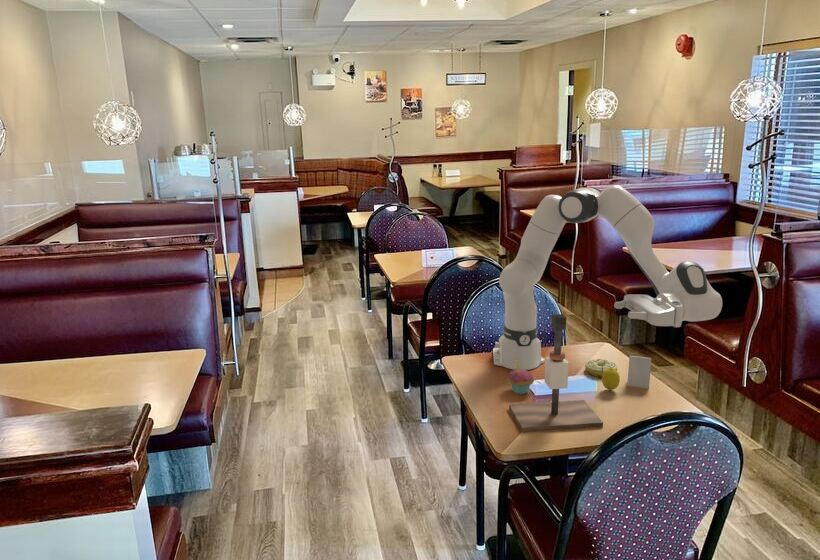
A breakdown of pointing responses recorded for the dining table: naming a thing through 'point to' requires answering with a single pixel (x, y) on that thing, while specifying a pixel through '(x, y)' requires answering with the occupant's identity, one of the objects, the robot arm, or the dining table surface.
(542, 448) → the dining table surface
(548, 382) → the sleeve
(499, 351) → the robot arm
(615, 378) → the lemon
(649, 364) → the grey rectangular block
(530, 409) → the post stand
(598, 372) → the decorated donut
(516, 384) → the cupcake
